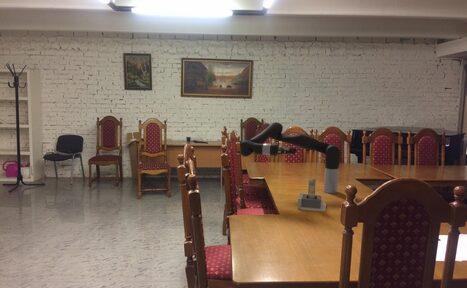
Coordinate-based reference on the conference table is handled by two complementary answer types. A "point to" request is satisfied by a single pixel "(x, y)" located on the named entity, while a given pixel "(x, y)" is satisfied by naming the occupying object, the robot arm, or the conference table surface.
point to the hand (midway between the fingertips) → (295, 151)
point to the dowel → (311, 188)
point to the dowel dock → (311, 203)
